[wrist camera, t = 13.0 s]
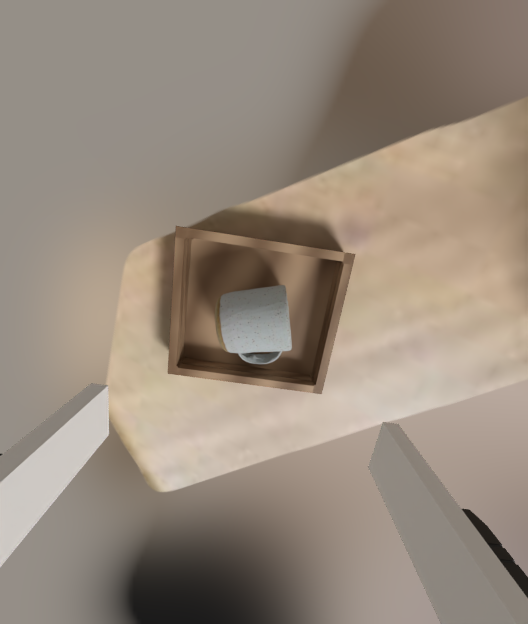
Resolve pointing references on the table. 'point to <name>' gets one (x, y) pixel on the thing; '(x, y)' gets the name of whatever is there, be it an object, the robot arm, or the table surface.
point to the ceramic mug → (254, 323)
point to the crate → (244, 276)
